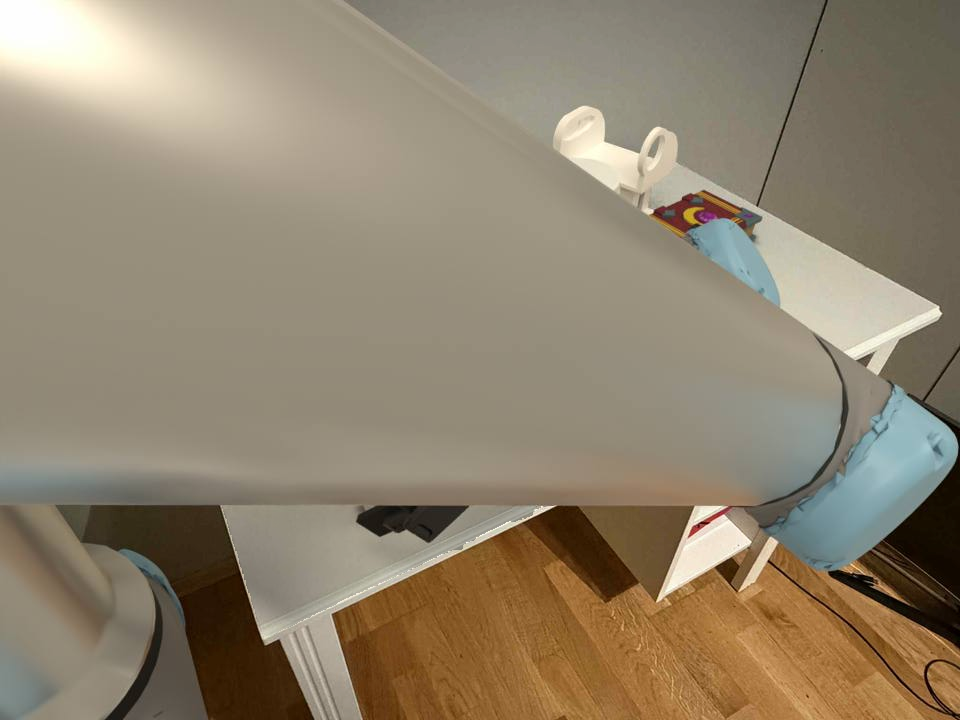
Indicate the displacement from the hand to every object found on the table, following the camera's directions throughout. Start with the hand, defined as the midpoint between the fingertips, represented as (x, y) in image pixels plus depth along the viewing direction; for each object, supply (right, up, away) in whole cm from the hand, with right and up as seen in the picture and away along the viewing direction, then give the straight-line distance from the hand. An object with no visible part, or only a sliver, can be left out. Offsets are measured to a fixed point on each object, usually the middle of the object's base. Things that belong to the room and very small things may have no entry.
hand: (389, 463), depth 60 cm
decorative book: (+43, +28, +40) cm, 65 cm away
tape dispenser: (+29, +32, +44) cm, 62 cm away
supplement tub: (+21, +21, +32) cm, 44 cm away
